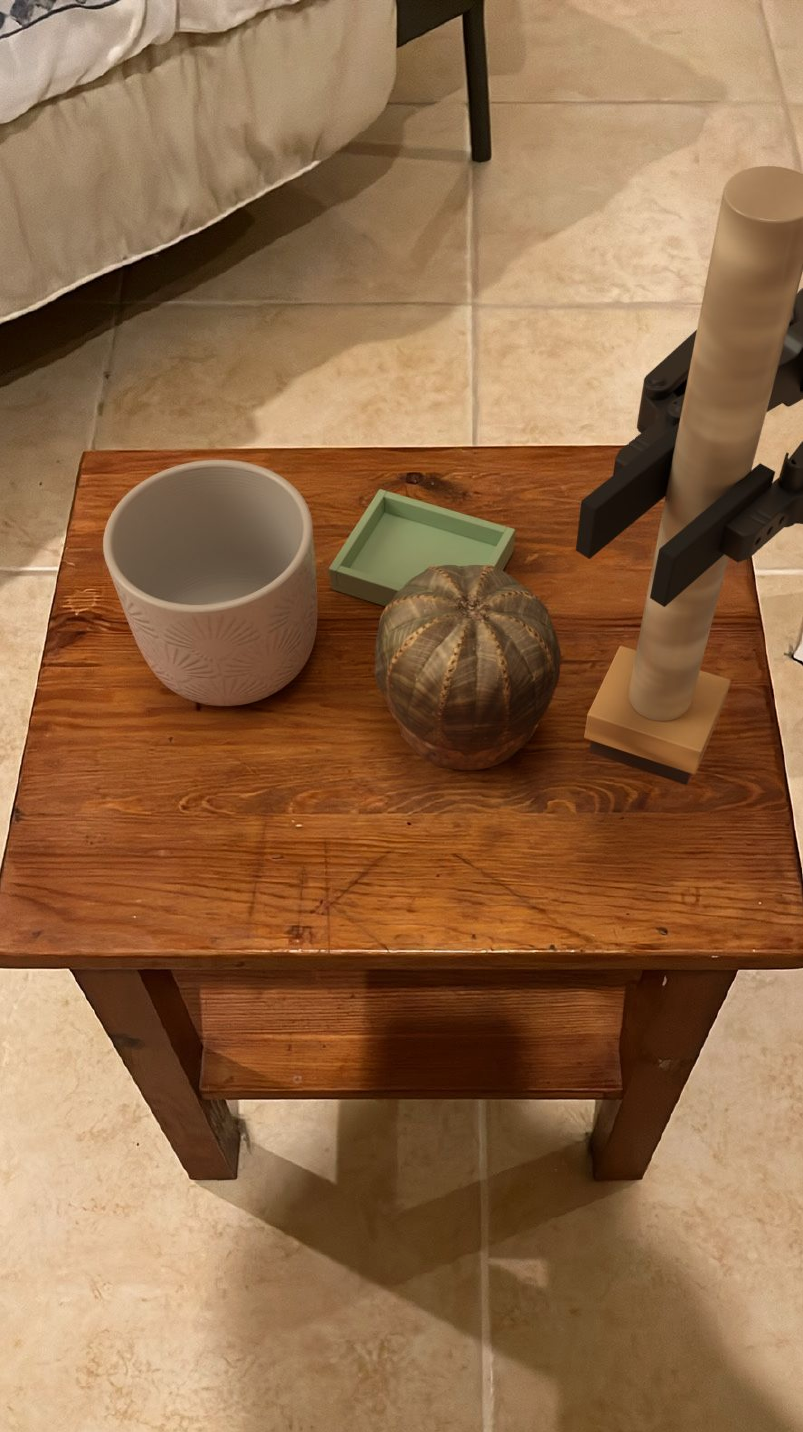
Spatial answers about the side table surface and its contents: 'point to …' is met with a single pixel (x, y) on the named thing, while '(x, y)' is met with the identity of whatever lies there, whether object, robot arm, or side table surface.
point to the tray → (412, 546)
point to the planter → (216, 578)
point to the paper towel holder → (708, 475)
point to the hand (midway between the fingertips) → (624, 553)
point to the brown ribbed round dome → (466, 664)
